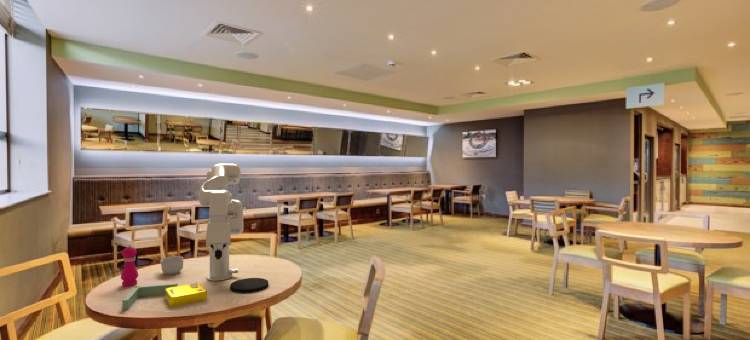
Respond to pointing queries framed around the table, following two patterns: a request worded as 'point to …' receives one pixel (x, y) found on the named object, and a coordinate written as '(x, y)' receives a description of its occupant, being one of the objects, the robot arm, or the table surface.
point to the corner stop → (144, 293)
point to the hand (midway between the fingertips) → (218, 258)
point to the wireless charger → (249, 285)
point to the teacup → (172, 264)
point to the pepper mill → (129, 267)
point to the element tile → (185, 294)
